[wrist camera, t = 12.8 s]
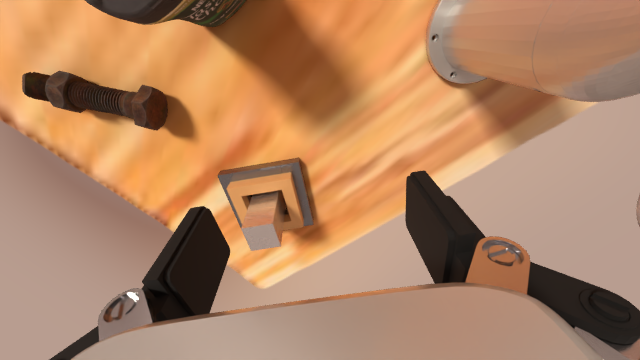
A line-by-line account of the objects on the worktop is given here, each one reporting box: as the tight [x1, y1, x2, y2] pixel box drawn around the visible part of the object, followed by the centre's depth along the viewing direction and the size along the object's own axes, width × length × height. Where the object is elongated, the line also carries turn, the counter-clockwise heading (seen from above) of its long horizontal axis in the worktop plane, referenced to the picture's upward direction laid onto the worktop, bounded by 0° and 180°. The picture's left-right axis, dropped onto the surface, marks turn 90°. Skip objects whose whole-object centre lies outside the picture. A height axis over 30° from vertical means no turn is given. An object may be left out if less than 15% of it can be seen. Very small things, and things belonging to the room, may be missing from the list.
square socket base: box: [218, 158, 313, 230], centre depth 41 cm, size 13×13×4 cm
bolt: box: [22, 71, 168, 130], centre depth 31 cm, size 6×5×15 cm
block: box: [241, 190, 286, 251], centre depth 39 cm, size 4×4×10 cm
